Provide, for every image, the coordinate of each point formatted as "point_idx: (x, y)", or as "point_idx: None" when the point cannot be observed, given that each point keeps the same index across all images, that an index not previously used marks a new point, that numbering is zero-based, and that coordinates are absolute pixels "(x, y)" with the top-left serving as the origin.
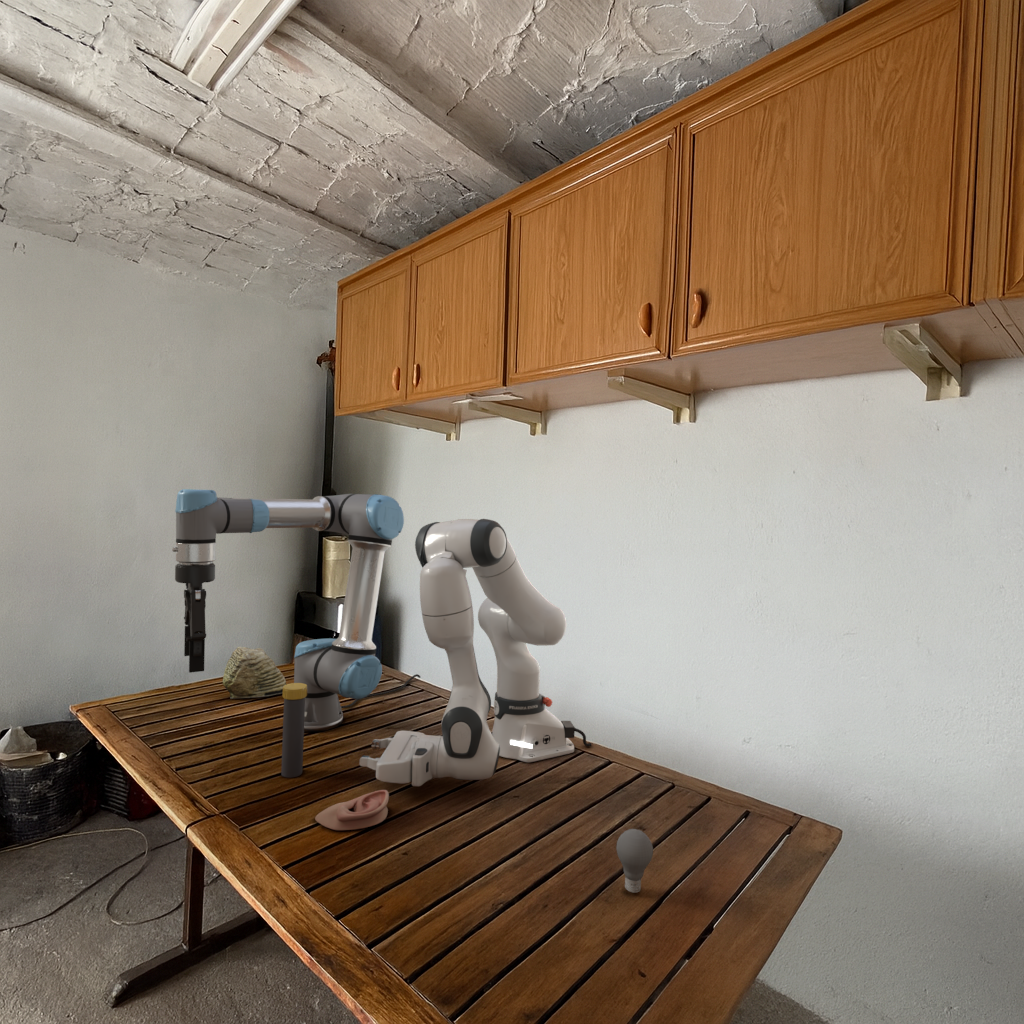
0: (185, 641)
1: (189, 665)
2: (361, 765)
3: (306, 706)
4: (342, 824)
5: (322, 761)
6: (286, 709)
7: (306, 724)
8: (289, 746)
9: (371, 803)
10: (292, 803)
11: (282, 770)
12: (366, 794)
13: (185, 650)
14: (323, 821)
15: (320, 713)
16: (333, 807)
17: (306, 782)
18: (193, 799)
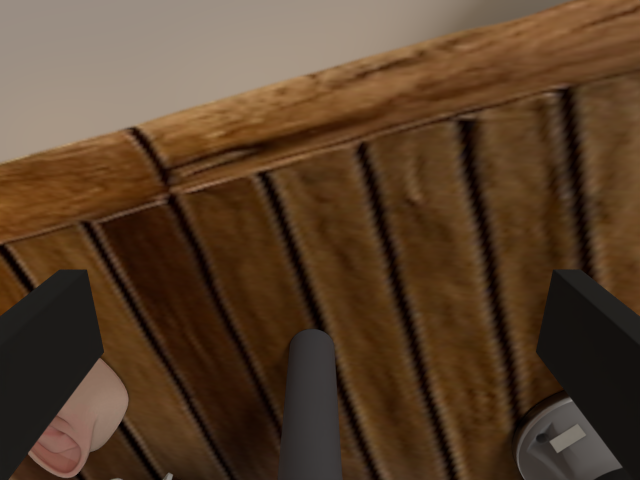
0: (624, 341)
1: (29, 295)
2: (167, 474)
3: (572, 463)
4: None
5: (346, 407)
6: (293, 457)
7: (537, 427)
8: (289, 385)
9: (55, 441)
10: (168, 324)
11: (305, 336)
12: (82, 445)
13: (575, 296)
14: None
15: (539, 472)
16: (79, 385)
17: (255, 362)
18: (263, 147)
